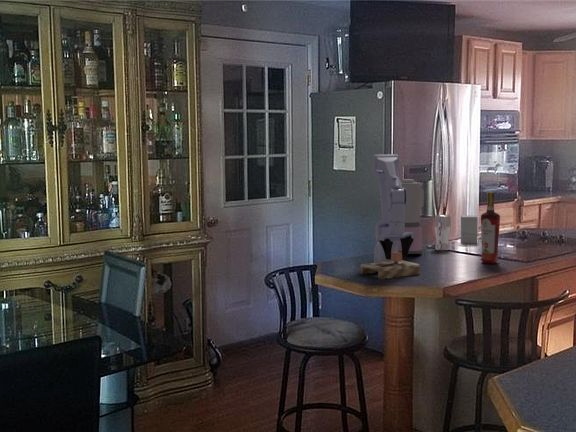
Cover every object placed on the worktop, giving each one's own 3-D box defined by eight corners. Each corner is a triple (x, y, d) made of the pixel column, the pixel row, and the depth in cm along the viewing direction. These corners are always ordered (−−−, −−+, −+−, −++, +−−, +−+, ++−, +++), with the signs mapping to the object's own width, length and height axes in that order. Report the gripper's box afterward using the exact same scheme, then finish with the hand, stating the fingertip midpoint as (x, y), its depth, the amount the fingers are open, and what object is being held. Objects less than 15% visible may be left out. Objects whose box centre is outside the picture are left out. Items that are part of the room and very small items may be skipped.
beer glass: (452, 250, 310) (452, 216, 308) (436, 250, 310) (436, 216, 309) (448, 248, 317) (449, 214, 315) (433, 248, 317) (433, 215, 315)
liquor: (476, 263, 279) (477, 192, 276) (485, 260, 284) (486, 191, 281) (493, 265, 274) (495, 193, 271) (502, 262, 279) (503, 192, 276)
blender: (407, 257, 293) (407, 180, 290) (387, 254, 303) (387, 179, 300) (433, 253, 302) (434, 179, 298) (413, 250, 312) (414, 177, 308)
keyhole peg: (388, 272, 263) (388, 252, 262) (397, 271, 265) (397, 251, 264) (395, 274, 259) (395, 253, 258) (403, 273, 261) (403, 252, 260)
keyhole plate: (380, 279, 251) (380, 269, 250) (360, 273, 261) (360, 264, 261) (419, 274, 259) (419, 264, 259) (399, 268, 270) (399, 259, 269)
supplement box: (476, 241, 335) (476, 215, 334) (477, 243, 328) (477, 216, 326) (460, 241, 337) (460, 214, 335) (461, 243, 329) (461, 216, 328)
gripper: (387, 224, 252) (387, 261, 254) (419, 221, 259) (418, 257, 261) (375, 222, 259) (375, 258, 260) (406, 219, 266) (406, 255, 267)
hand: (396, 258), depth 261 cm, fingers open, 7 cm apart
